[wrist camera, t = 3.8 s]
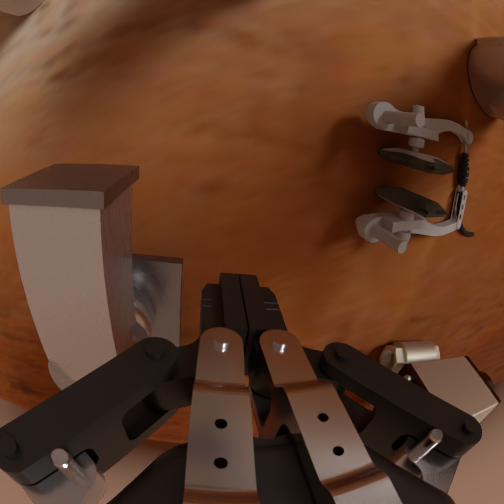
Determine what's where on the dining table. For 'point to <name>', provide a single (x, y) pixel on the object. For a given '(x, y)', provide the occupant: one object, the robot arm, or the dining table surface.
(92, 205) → the elbow
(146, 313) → the duct stub
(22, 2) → the white cup
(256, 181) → the dining table surface
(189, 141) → the dining table surface
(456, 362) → the ball valve
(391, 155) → the bike brake
